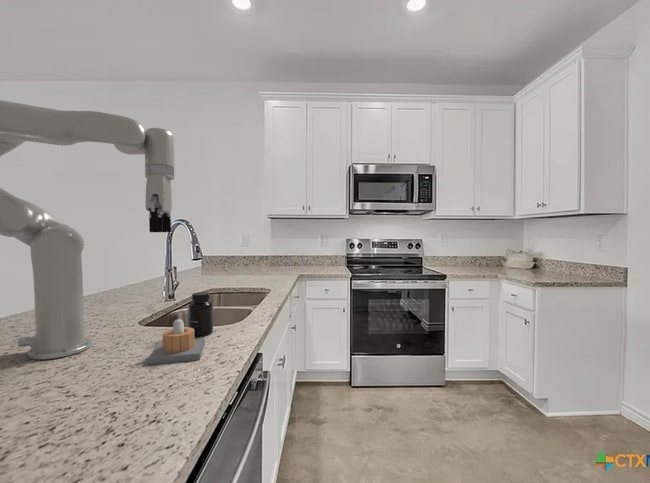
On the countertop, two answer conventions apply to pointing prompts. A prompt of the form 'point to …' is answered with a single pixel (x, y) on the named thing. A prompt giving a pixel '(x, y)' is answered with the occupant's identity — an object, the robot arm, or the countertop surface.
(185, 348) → the ring
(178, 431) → the countertop surface
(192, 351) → the post block
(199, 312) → the supplement bottle
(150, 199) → the robot arm
